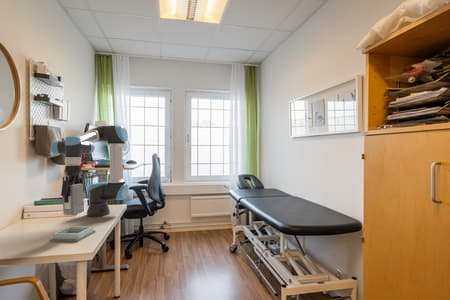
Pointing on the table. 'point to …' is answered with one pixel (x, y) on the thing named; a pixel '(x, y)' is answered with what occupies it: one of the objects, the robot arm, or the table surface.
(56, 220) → the table surface
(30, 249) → the table surface
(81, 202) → the skincare box
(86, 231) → the tray
